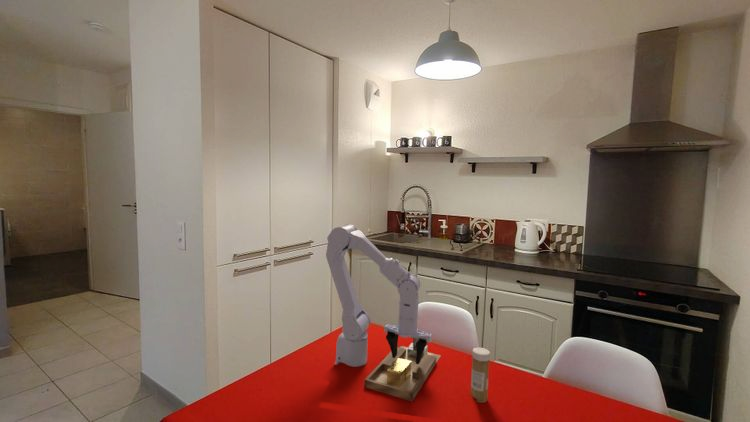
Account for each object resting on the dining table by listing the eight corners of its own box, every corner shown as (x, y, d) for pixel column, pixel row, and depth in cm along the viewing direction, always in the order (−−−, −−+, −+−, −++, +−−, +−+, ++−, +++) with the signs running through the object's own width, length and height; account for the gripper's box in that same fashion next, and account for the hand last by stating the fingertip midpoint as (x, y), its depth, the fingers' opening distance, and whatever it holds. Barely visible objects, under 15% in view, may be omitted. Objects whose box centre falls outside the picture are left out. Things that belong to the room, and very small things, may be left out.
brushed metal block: (407, 356, 117) (408, 336, 116) (411, 349, 121) (412, 331, 121) (423, 359, 115) (424, 340, 114) (427, 353, 119) (428, 334, 119)
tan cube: (393, 377, 104) (393, 363, 103) (398, 370, 107) (398, 358, 107) (405, 380, 102) (406, 367, 102) (410, 374, 106) (411, 361, 105)
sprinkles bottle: (490, 400, 96) (493, 352, 95) (479, 405, 93) (482, 356, 92) (477, 391, 100) (480, 345, 99) (466, 396, 97) (468, 349, 96)
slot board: (364, 389, 99) (364, 379, 98) (401, 348, 124) (401, 340, 124) (412, 404, 93) (412, 393, 92) (440, 358, 118) (441, 349, 118)
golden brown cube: (386, 383, 100) (387, 370, 100) (392, 376, 104) (392, 363, 104) (399, 387, 99) (400, 373, 98) (405, 380, 102) (405, 367, 102)
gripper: (380, 315, 106) (379, 359, 107) (427, 325, 100) (425, 371, 101) (389, 308, 113) (388, 349, 114) (434, 317, 106) (432, 361, 108)
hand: (406, 359), depth 108 cm, fingers open, 7 cm apart
